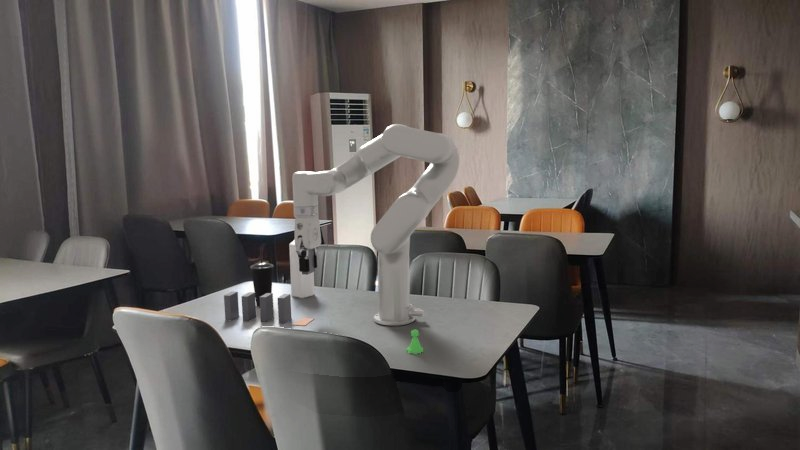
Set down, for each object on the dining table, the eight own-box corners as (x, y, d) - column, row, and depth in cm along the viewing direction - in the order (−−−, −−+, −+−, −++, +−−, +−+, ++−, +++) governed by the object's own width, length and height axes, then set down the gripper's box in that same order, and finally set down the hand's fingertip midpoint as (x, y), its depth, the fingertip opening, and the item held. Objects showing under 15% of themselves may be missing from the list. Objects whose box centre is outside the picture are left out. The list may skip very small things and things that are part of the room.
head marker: (313, 319, 187) (313, 318, 187) (305, 325, 180) (305, 325, 180) (301, 318, 188) (301, 317, 188) (292, 325, 181) (292, 324, 181)
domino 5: (314, 271, 190) (313, 246, 189) (307, 274, 185) (306, 248, 184) (308, 270, 190) (307, 246, 189) (302, 274, 186) (300, 248, 184)
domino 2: (256, 317, 190) (254, 292, 189) (248, 321, 186) (247, 296, 184) (250, 316, 191) (249, 292, 190) (242, 321, 186) (241, 296, 185)
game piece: (403, 351, 157) (403, 329, 156) (414, 347, 160) (414, 325, 159) (415, 355, 154) (414, 332, 153) (426, 351, 157) (426, 328, 156)
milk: (301, 298, 213) (299, 236, 210) (291, 295, 217) (288, 235, 214) (315, 294, 217) (312, 234, 214) (304, 292, 221) (301, 233, 218)
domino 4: (291, 319, 188) (290, 294, 187) (284, 323, 183) (283, 298, 182) (285, 318, 188) (284, 293, 187) (278, 323, 183) (277, 297, 182)
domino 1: (239, 316, 192) (237, 291, 191) (231, 320, 187) (229, 295, 186) (233, 315, 192) (231, 291, 191) (225, 320, 187) (223, 295, 186)
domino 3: (273, 318, 189) (272, 293, 188) (266, 322, 184) (265, 297, 183) (267, 317, 189) (266, 293, 188) (260, 322, 185) (259, 297, 184)
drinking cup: (269, 308, 200) (266, 249, 197) (248, 307, 201) (245, 249, 199) (278, 302, 207) (276, 245, 205) (258, 301, 209) (255, 245, 206)
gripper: (305, 215, 176) (308, 276, 178) (328, 208, 192) (330, 264, 195) (282, 214, 178) (285, 275, 180) (306, 208, 194) (308, 263, 197)
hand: (308, 269), depth 187 cm, fingers closed on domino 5, 4 cm apart
